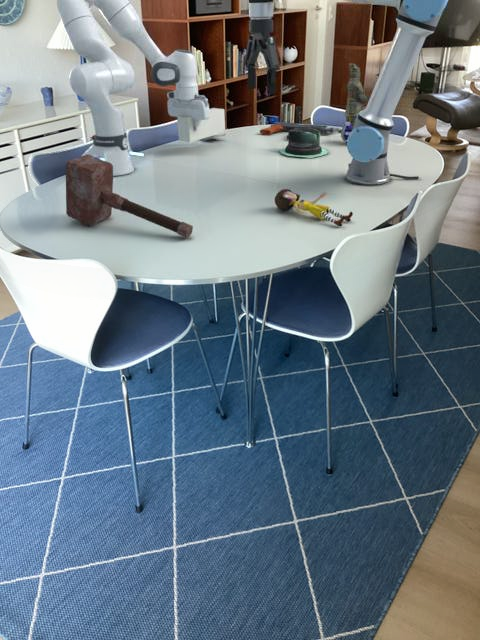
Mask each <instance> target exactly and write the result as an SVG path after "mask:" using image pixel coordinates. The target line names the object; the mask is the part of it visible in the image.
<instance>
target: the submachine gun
mask: <svg viewBox="0 0 480 640" xmlns="http://www.w3.org/2000/svg"><path fill="white" fill-rule="evenodd" d="M298 128H311V129H316V130H318V131H319V132H320V133H321V135H322V136H329V135H331V134H333V133H334V131H335V129H334V128H333V127H329V128H328V125H321V124H310V123H298V122H287V121H286V122H285V121H276V122H275V121H274V122H273V124H270V126H269V127H265V128H261V129H260V130H259V134H261V135H265V136H266V135H267V136H270V135H272V134H274V133H278V132H289V131H291V130H294V129H298ZM286 140H289V133H288V134H287V135H286Z"/></svg>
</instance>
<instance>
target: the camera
mask: <svg viewBox="0 0 480 640" xmlns="http://www.w3.org/2000/svg"><path fill="white" fill-rule="evenodd" d="M225 136H227V134H226V133H222V134H217V135H213V136H210V137H207V138H203V139H202V140H203V141H208V140H213V139H216V138H222V137H225Z"/></svg>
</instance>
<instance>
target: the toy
mask: <svg viewBox="0 0 480 640" xmlns="http://www.w3.org/2000/svg"><path fill="white" fill-rule="evenodd" d="M352 130H353V127H352V124H350V122H346V121H345V122H344V123H343V126H342V128H341V129H339V130H338V134H340V137H341V139H342V141H343V142H347V139H348V136H349V134H350V133H351V132H352Z"/></svg>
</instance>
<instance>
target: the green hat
mask: <svg viewBox="0 0 480 640" xmlns="http://www.w3.org/2000/svg"><path fill="white" fill-rule="evenodd" d="M288 134H289V139H287V140H288V141H287V142H288V143H287V145H286V146H285V147H283V148H281V149H280V150H279V153H280V154H282V155H285V156H289V157H296V158H297V157H298V158H307V159H309V158H310V159H311V158H313V159H314V158H317V157H323V156H326V155H327V154H328V150H326V149H325V148H322V146H321V144H320V142H321V132H319V131H318V130H316V129H311V128H298V129H294V130H291V131H288Z"/></svg>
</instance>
